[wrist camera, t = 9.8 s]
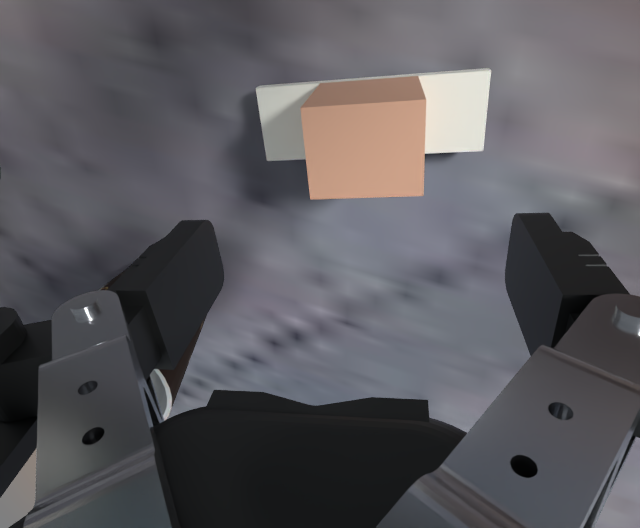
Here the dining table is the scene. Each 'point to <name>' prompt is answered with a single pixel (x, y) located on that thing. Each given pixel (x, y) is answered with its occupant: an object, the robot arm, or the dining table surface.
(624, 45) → the dining table surface
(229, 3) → the dining table surface
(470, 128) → the tan block on plate
